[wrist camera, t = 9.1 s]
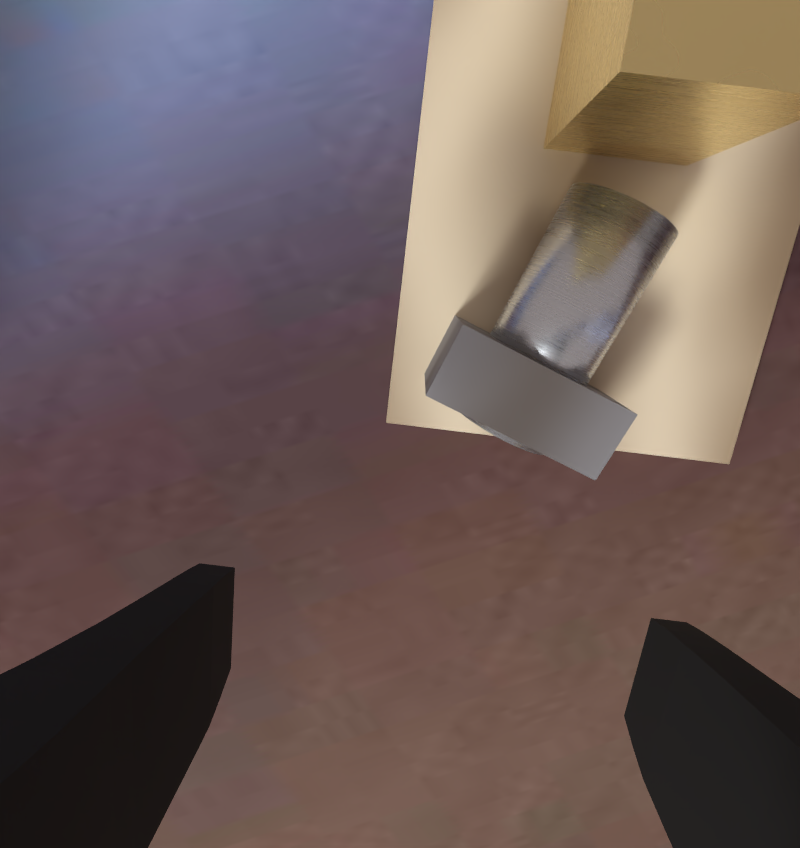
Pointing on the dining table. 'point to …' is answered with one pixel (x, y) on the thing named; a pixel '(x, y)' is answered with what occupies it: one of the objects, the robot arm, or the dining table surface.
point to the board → (525, 227)
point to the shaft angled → (583, 282)
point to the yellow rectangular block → (674, 77)
